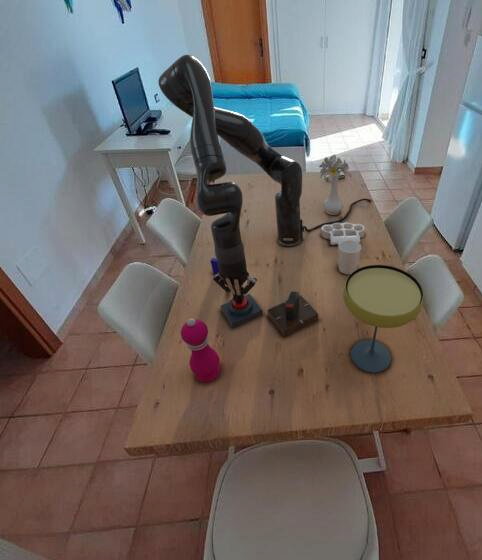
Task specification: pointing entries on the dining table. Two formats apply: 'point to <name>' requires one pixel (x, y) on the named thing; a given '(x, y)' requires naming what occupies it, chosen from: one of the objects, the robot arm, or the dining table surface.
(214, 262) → the blue notched block
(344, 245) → the white cup
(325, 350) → the dining table surface
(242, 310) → the button box
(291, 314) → the selector knob handle
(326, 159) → the flower vase
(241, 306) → the button
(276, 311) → the switch base
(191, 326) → the pepper mill
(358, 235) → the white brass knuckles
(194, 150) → the robot arm
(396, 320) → the cocktail glass
